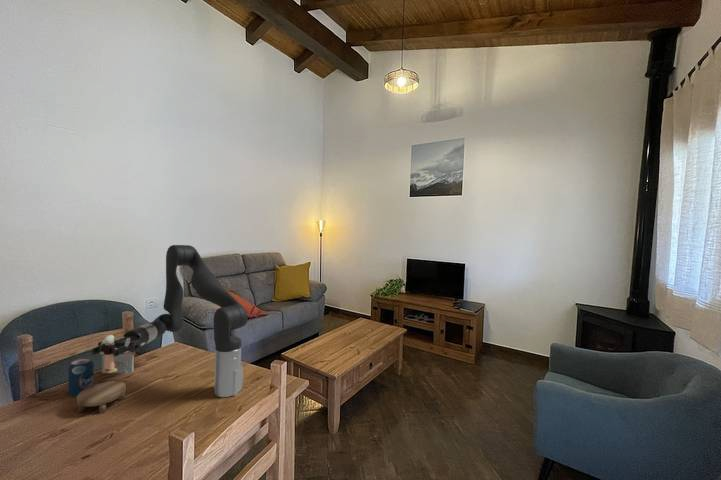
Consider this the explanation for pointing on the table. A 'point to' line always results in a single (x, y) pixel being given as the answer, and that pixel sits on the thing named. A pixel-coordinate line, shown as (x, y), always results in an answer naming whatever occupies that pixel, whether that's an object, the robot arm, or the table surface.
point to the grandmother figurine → (108, 354)
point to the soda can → (80, 376)
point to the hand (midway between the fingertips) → (103, 352)
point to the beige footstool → (101, 395)
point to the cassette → (122, 364)
